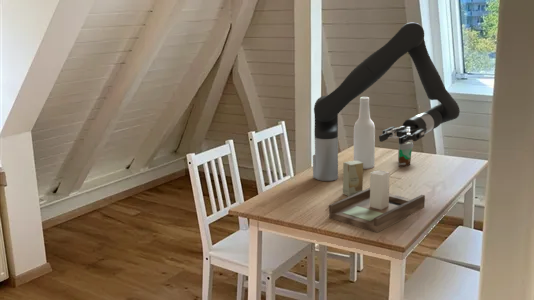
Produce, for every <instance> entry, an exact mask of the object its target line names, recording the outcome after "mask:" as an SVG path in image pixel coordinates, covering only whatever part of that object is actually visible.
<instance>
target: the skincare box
mask: <svg viewBox="0 0 534 300" xmlns="http://www.w3.org/2000/svg"><path fill="white" fill-rule="evenodd" d="M342 168H343V169H342V194H343V195H344V196H347V197H349V196H352V195H354V194H356V193H359V192H361V191H363V187H364V186H363V183H364V181H363V179H364V169H363V163H362V162H360V161H357V160H355V161H354V160H349V161H344V162H343V166H342Z"/></svg>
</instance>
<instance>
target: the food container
mask: <svg viewBox="0 0 534 300" xmlns="http://www.w3.org/2000/svg"><path fill="white" fill-rule="evenodd" d="M413 142H414V141H413V140H411V141H407V142H405V143H403V144H399V143H398V149H397V150H398V153H397V154H398V157H397V160H398V162H397V163H398V167H399V168H400V167H401V168H403V167H408V166H410V165H411V162H412V161H411V159H412V152H413V151H412V150H413V148H414V143H413Z"/></svg>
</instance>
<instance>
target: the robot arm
mask: <svg viewBox="0 0 534 300" xmlns="http://www.w3.org/2000/svg"><path fill="white" fill-rule="evenodd" d="M407 53H408V55H409V56H410V57H411V59H412V63H413V64H414V66H415V69H416V71H417V74H418V77H419V80H420V83H421V85H422V87H423V90H424V91H425V94H426V96H427V98H428V99H429V100H430V101H438V102H439V103H440V104H438V105H435V106H433V107H431V108H430V109H428V110H426V111H423V112H421V113H419V114H416V115H414V116H411V117H410V118H408V119H406V120H405V121H404V122H403V123H402V125H401V126H398V127H395V126H394V125H393V126H390V127H388V128H386V129H383V130H382V132H381V133H382V134H380V135H379V136H378V140H379V142H382V143H383V142H385V141H387V140H388V139H398V145H399V144H403V143H405V142H407V141H412V142H416V141H418V140H420V139H423V137H425V135H426V134H428V133H429V132H431V131H432V130H434V129H437V128H438V127H439V126H440V125H442V124H444V123H447V122H450V121H453V120H456V119H457V118H458V117H459V116H460V107H459V104H458V103H457V101H456V100H455V99H454V98H453V96H452V95H451V94H450V93H449V91H448V90H447V88H446V87H445V84H444V83H443V79H442V77H441V76H440V75H441V74H440V73H439V71H438V69H437V68H436V66H435V64H434V63H433V61H432V59H431V56H430V54H429V51H428V49H427V45H426V41H425V30H424V28H423V26H422V25H421V24H420V23H418V22H407V23H405V24H404V25H402V27H400V29H399V30H398V31H397V32H396V33H395V34H394V35H393V36H392V37H391V38H390V40H388V41H387V42H386V43H385V44H384V45H383V46H381V47H380V48H378V49H377V50H376V51H374V52H373V53H371V54H370V55H369V56H367V57H366V58H365V59H364V60H362V62H360V63H359V64H358V65H357V66H356V67H354V68H353V70H352V71H351V72H349V74H348V75H347V76H346V77H345V78H344V80H343V81H342V82H341V83H340V85H338V87H337V88H335V89H334V90H333V91H332V92H330V93H329V94H327V95H323V96H320V97H318V98H317V99H316V101H315V103H314V107H313V113H314V132H313V133H314V154H313V155H312V178H313V179H316V180H318V181H321V182H322V181H323V182H332V181H335V180H338V178H339V138H338V137H339V117H338V116H339V114H340V113H341V111H343V109H345V107H346V106H347V105H348V104H349V103H351V102H352V101H353V100H355V99H356V98H357V97H359V96H360V95H361V94H363V93H364V92H365V91H367V90H368V89H369V88H370V87H372V86H373V85H374V84H375V83H376V82H378V81H379V80H380V79H381V78H382V77H383V76H384V75H385V74H386V73H387V72H388V71H389V70H390V69H391V68H392V66H393V65H394V64H395V63H396V62H397V61H398V60H399V59H400V58H401V57H403V56H404V55H406V54H407Z"/></svg>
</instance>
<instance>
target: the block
mask: <svg viewBox="0 0 534 300" xmlns="http://www.w3.org/2000/svg"><path fill="white" fill-rule="evenodd" d="M369 175H370V177H369V184H370V185H369V188H370V207H373V208H377V209H380V210H382V209H384V208H386V207H388V206H389V194H390V171H386V170H381V169H376V170H374V171H371V172H369Z"/></svg>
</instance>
